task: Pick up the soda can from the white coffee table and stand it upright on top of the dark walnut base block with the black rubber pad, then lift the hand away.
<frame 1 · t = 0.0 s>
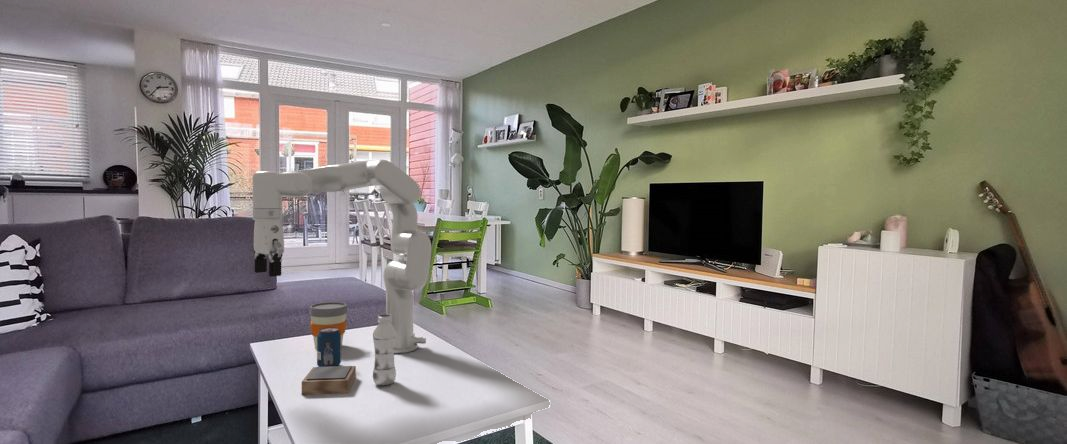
hand: (267, 274, 148), 31 cm above the table, tool pointing down, fingers open, 9 cm apart
walnut base: (329, 385, 147), on the table
soda can: (328, 367, 163), on the table
plastic bottle: (384, 384, 149), on the table
reusable coffee cup: (328, 347, 184), on the table
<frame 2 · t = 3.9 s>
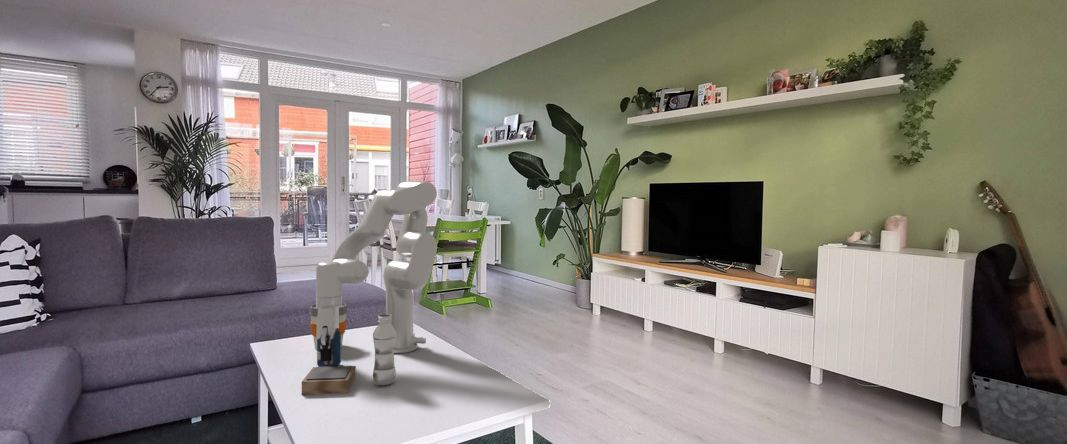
hand: (328, 356, 163), 3 cm above the table, tool pointing down, fingers closed on soda can, 7 cm apart
soda can: (328, 367, 163), on the table, touching gripper
everything else where it was.
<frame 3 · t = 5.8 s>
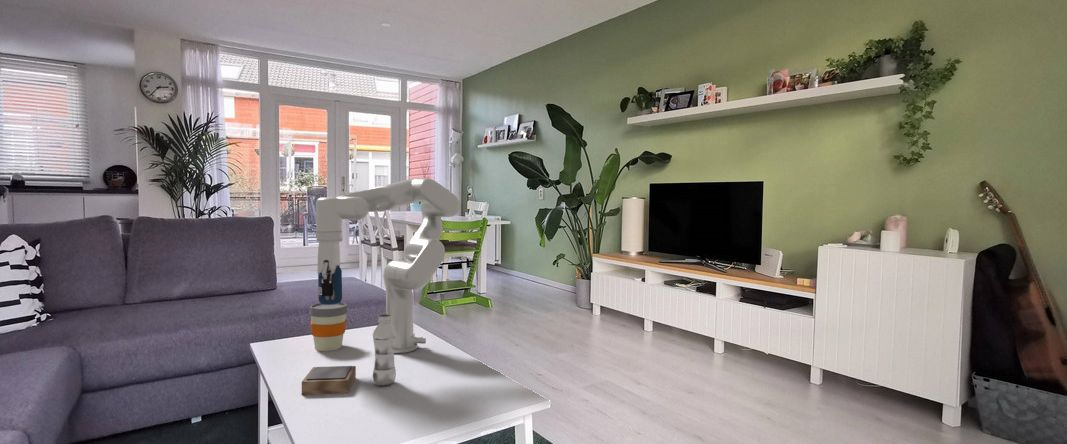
hand: (330, 292, 162), 24 cm above the table, tool pointing down, fingers closed on soda can, 7 cm apart
soda can: (330, 304, 162), point 20 cm above the table, touching gripper
everything else where it was.
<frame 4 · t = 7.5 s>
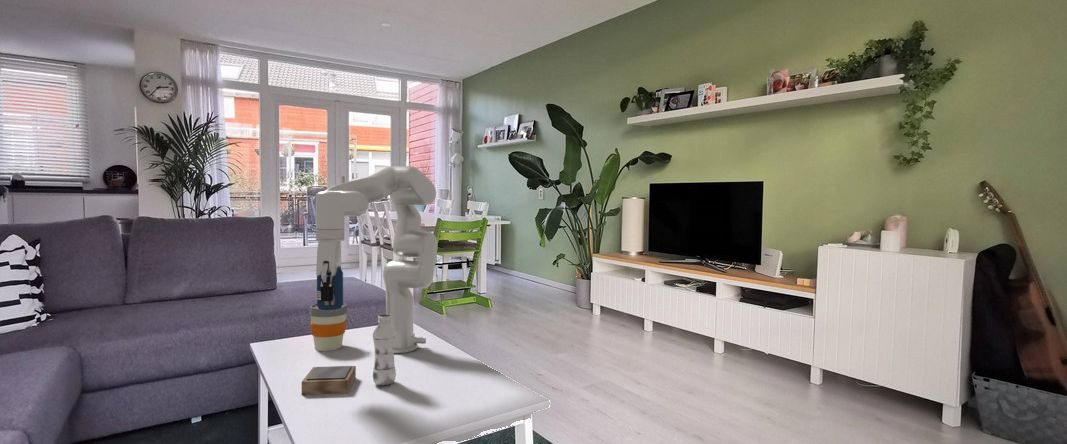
hand: (330, 297, 145), 25 cm above the table, tool pointing down, fingers closed on soda can, 7 cm apart
soda can: (330, 309, 146), point 22 cm above the table, touching gripper
everything else where it was.
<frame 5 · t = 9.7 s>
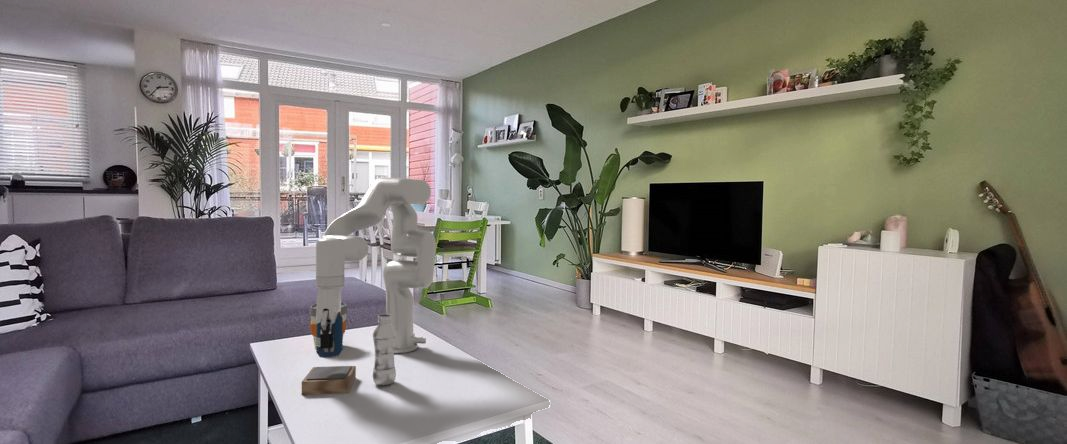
hand: (329, 343, 146), 12 cm above the table, tool pointing down, fingers closed on soda can, 7 cm apart
soda can: (329, 355, 146), point 9 cm above the table, touching gripper
everything else where it was.
when the fingers open (9 cm above the table, at t = 11.5 s): soda can drops 1 cm, resting on walnut base.
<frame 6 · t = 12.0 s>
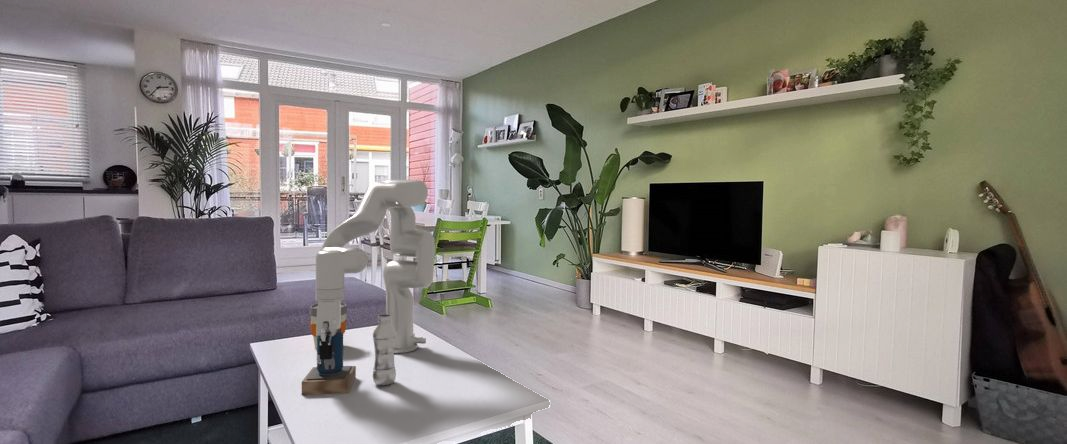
hand: (330, 353, 146), 9 cm above the table, tool pointing down, fingers open, 9 cm apart
soda can: (330, 372, 147), point 4 cm above the table, touching walnut base
everything else where it was.
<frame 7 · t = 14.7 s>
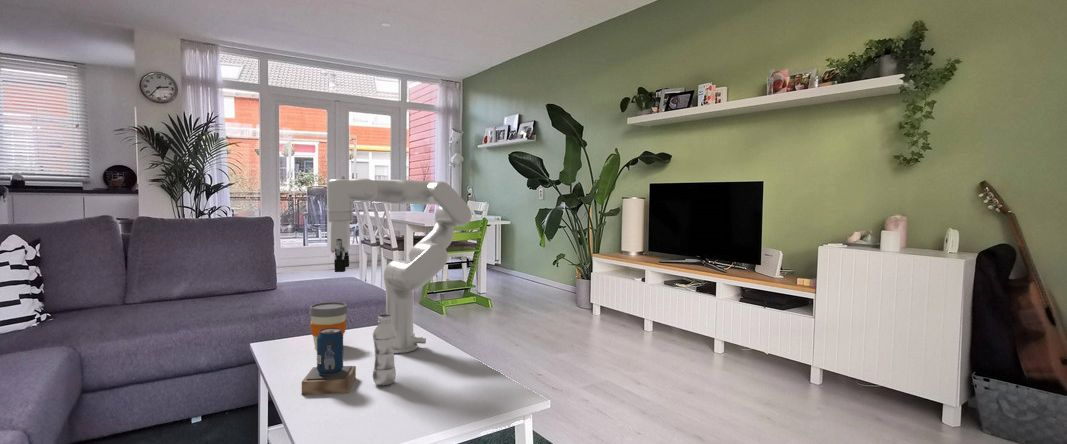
hand: (342, 269, 168), 30 cm above the table, tool pointing down, fingers open, 9 cm apart
nothing on the table moved.
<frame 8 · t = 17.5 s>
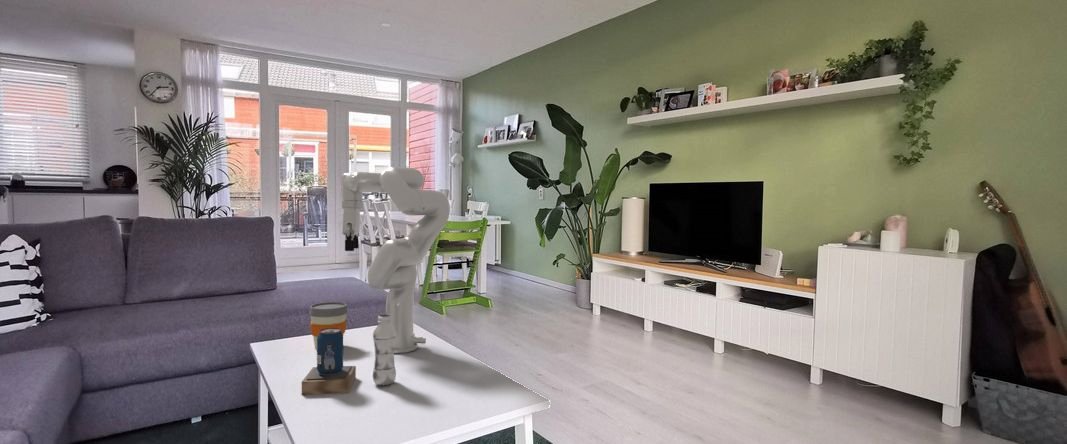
hand: (351, 249, 199), 33 cm above the table, tool pointing down, fingers open, 9 cm apart
nothing on the table moved.
at the end: soda can inside the target area on the walnut base (0.1 cm from its centre), point 3.8 cm above the walnut base's base; soda can tilted 0°; the gripper is holding nothing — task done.
